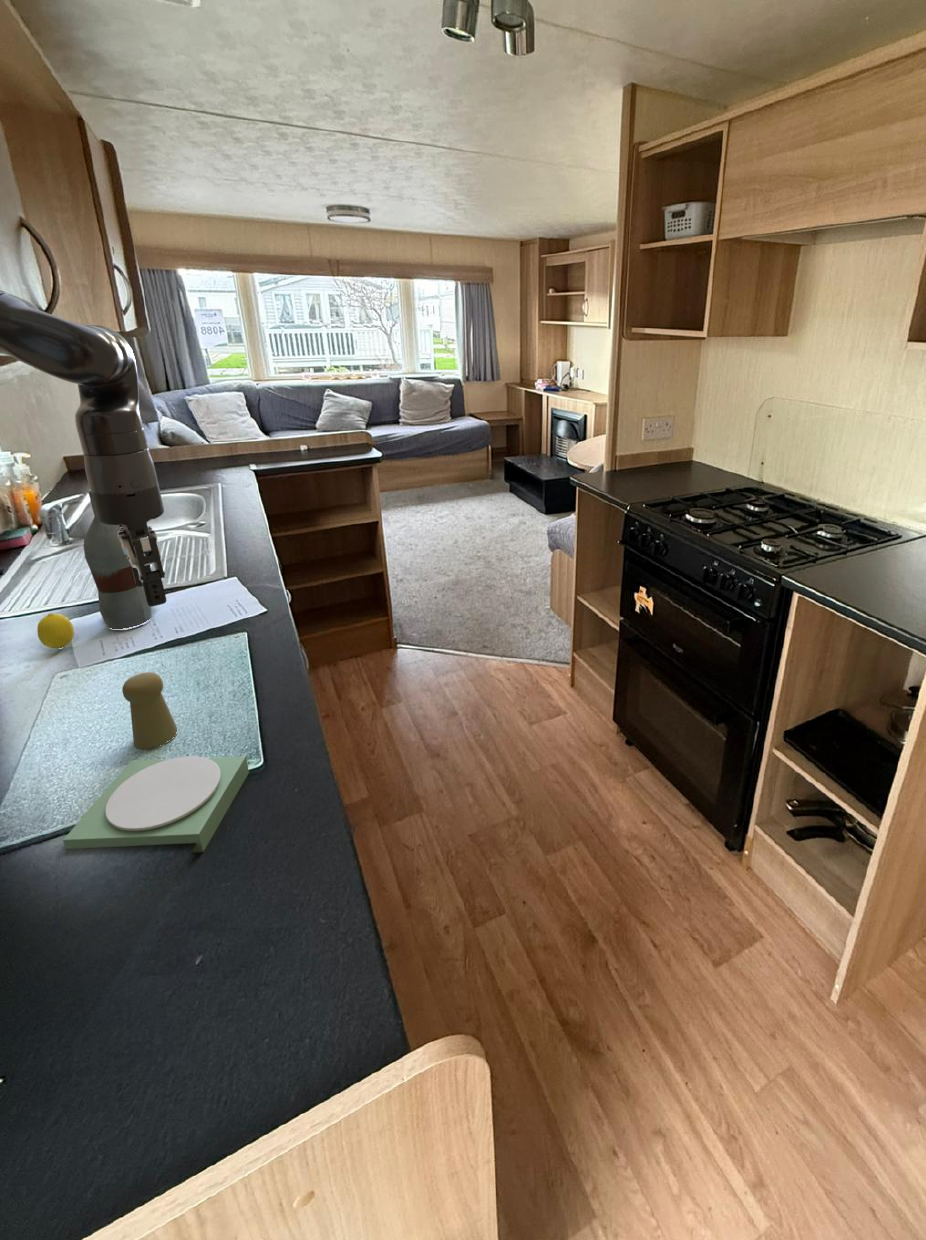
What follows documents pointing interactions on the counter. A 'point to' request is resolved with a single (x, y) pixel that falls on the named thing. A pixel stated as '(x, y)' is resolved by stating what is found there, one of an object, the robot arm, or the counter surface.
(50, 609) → the counter surface
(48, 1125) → the counter surface
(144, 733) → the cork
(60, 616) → the lemon
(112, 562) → the bottle
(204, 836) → the scale
